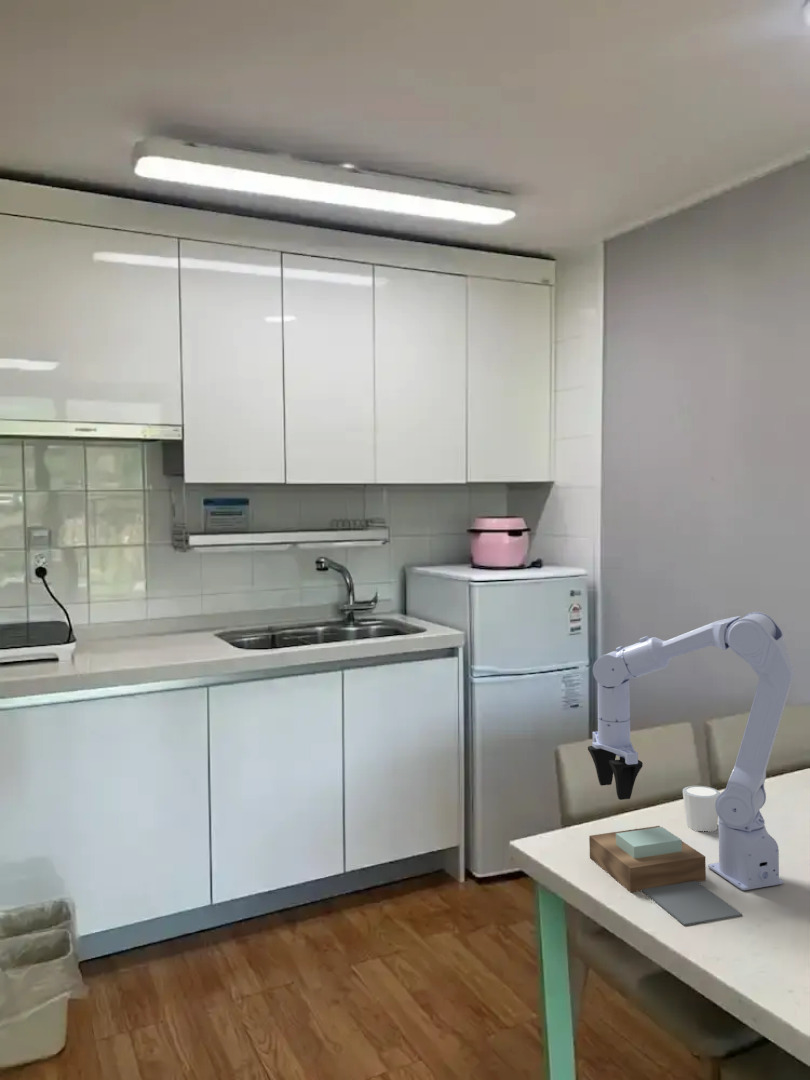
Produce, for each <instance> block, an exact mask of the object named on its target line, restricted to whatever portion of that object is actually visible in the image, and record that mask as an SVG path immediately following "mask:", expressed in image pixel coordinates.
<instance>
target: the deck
mask: <svg viewBox="0 0 810 1080" xmlns="http://www.w3.org/2000/svg"><path fill="white" fill-rule="evenodd" d="M657 827H661V826H660V825H656V826H649V827H647V826H646V827H640V828H634V829H626V830H620V831H612V832H605V833H601V834H600V833H599V834H591V835H589V839H588V840H589V858H590V859H591V860H592V861H593V862H594V863H595V864H596V865H598V866H599V867H600V868H601V869H602V870H604V871H605V872H606V873H607V874H608V875H610V876H611V877H612V878H613V879H614V880H616V881H617V882H618V884H620V885H621V886H622V887H624V889H626V890H627V891H628V892H629V893H634V892H635V893H636V892H643V891H642V889H647V888H653V887H659V886H665V885H672V884H678V883H684V882H690V881H697V882H702V881H707V879H706V878H707V877H706V876H707V873H706V872H707V870H706V865H707V864H706V855H704V854H702V853H701V852H700V851H698V850H696V849H694V848H693V847H692V846H690V845H689V844H687V843H686V842H684V841H683V840H682V851H681V852H674V853H668V854H661V855H655V856H648V857H642V858H635V859H634V858H633V857H631V856H630V855H629V854H627V853H626V852H625V851H624V850H622V849H621V848H620V847H618V846H617V845H616V833H622V832H629V831H636V830H643V829H650V828H657Z"/></svg>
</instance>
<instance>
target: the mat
mask: <svg viewBox="0 0 810 1080" xmlns="http://www.w3.org/2000/svg"><path fill="white" fill-rule="evenodd" d="M641 892H642V893H644V894H645V895H646V896H648V898H650V899H651V900H652V901H653V902H654V903H655V904H657V905H658V906H659V907H660V908H661V909H663V910H664V911H666V912H667V913H668V914H669V915H670V916H672V917H673V918H674V919H675V920H676V921H678V922H679V923H680V924H681V925H683V927H686V926H692V925H698V924H703V923H708V922H710V923H711V922H715V921H720V920H725V919H730V918H737V917H743V913H742V912H740V911H739V910H738V909H737V908H735V907H733V906H732V905H731V904H729V903H728V902H727V901H725V900H724V899H723V898H721V897H719V896H718V895H716V894H715V892H713V891H711V890H710V889H708V888H707V887H706V886H704V885H703V884H702V883H700V881H690V882H684V883H678V884H672V885H665V886H659V887H653V888H647V889H642V891H641Z"/></svg>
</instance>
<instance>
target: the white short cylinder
mask: <svg viewBox="0 0 810 1080" xmlns="http://www.w3.org/2000/svg"><path fill="white" fill-rule="evenodd" d="M720 794H721V792H720V791H719V790H718V789H716V788H714V787H711V786H710V787H709V786H706V785H704V786H703V785H690V786H686V787H684V788H683V789H682V797H683V806H684V815H685V816H684V817H685V825H687V826H688V827H689V828H690V830H691V829H693V830H692V831H694V830H696V831H695V832H698V831H703V832H702V833H705V832H704V831H708V832H707V833H710V832H709V831H712V832H715V831H717V830H716V829H718V824H719V823H718V821H719V819H718V817H719V816H718V815H717V812H716V809H715V803H716V799H717V797H718V796H719V795H720ZM687 826H686V827H687ZM688 827H687V828H688ZM689 828H688V829H689ZM714 830H715V831H714Z"/></svg>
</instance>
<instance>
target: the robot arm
mask: <svg viewBox="0 0 810 1080" xmlns="http://www.w3.org/2000/svg"><path fill="white" fill-rule="evenodd" d="M784 634H785V633H784V631H783V629H782V628H781V627H780V626H779V625H778V624H777V622H776V621H775V620H774V619H773V618H772V617H771V616H770V615H768V614H767V613H764V612H761V611H753V612H750V613H747V614H745V615H744V616H743V617H742V618H741V615H738V616H732V617H727V618H724V619H719V620H716V621H713V622H711V623H708V624H705V625H702V626H700V627H697V628H695V629H693V630H690V631H688V632H685V633H682V634H680V635H676V636H675V637H672V638H669V639H667V640H663V639H660V638H659V637H655V636H653V637H649V636H648V635H645V636H643V637H641V638H639V642H636V643H634V644H630V645H627V646H625V647H624V646H623V645H620V646H618V647H616V648H615V650H613V651H611V652H608V653H606V654H605V653H604V654H603V655H601V656H600V657H598V658H597V659H596V660H595V661H594V663H593V664H592V665H593V666H592V674H593V677H594V679H595V681H596V682H597V731H592V741H591V745H589V746H588V747H587V750H588V753H589V754H590V756H591V758H592V761H593V765H594V767H595V771H596V775H597V779H598V784H599V785H600V786H602V787H603V786H611V785H612V784H613V779H614V781H615V789H616V795H617V799H618V800H620V801H621V800H622V801H623V800H630V799H631V797H632V793H633V789H634V785H635V782H636V780H637V777H638V774H639V772H640V771H641V770H642V768H643V766H644V765H643V762H642V761H641V760H639V752H637V751H636V750H635V748H634V746H633V742H631V709H630V708H631V701H630V700H631V694H630V679H638V678H639V677H643V676H647V675H649V674H652V673H654V672H659V671H660V670H665V669H666V668H668V666H669V664H670V662H671V659H672V658H675V657H679V656H682V655H686V654H689V653H691V652H694V651H698V650H701V649H704V648H705V649H706V648H707V647H715V648H717V649H721V650H723V651H726V650H728V649H730V650H731V651H732V652H734V654H736V655H737V656H738V657H740V658H741V659H742V660H743V661H745V662H746V663H748V664H749V666H750V667H751V668H752V670H753V671H754V672H755V674H756V675H757V676H758V679H759V680H758V683H757V686H756V690H755V694H754V697H753V701H752V704H751V708H750V711H749V714H748V718H747V722H746V726H745V728H744V731H743V736H742V739H741V742H740V746H739V749H738V753H737V756H736V760H735V763H734V767H733V769H732V770H731V774H730V776H729V778H728V781H727V784H726V788H725V789H724V790H723V791H722V792H720V795H719V796H718V797H717V799H716V803H715V809H716V812H717V815H718V823H717V824H718V862H713V863H708V864H707V867H708V869H711V870H712V872H715V873H716V874H717V875H719V876H720V877H722V878H723V879H725V880H727V881H728V883H731V884H732V885H734V886H735V887H736V888H738V889H739V890H741V891H747V890H748V891H749V890H755V889H760V888H765V887H772V886H779V885H783V884H784V879H781V878H780V866H779V865H780V862H779V861H780V857H779V855H780V854H779V851H780V850H779V846H778V843H777V840H776V839H775V838H774V837H772V836H771V834H769V832H768V831H767V829H766V825H765V823H766V822H765V819H764V817H763V815H762V813H761V809H762V808H763V806H765V804H766V800H767V793H766V790H765V782H766V778H767V767H768V764H769V761H770V757H771V754H772V751H773V747H774V744H775V741H776V738H777V734H778V730H779V726H780V723H781V721H782V716H783V714H784V709H785V706H786V703H787V700H788V696H789V693H790V690H791V686H792V683H793V680H794V676H795V669H794V668H795V667H794V665H793V663H792V659H791V656H790V653H789V650H788V648H787V644H786V642H785V641H786V640H785V635H784ZM616 757H619V759H616Z"/></svg>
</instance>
